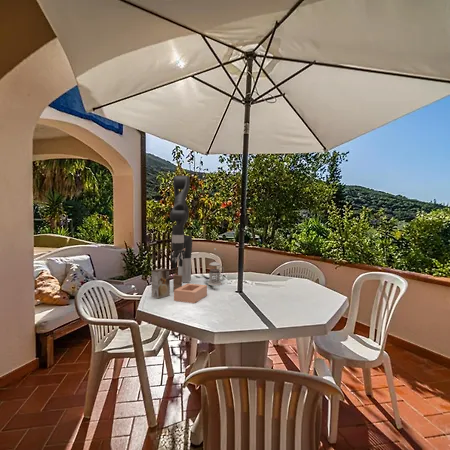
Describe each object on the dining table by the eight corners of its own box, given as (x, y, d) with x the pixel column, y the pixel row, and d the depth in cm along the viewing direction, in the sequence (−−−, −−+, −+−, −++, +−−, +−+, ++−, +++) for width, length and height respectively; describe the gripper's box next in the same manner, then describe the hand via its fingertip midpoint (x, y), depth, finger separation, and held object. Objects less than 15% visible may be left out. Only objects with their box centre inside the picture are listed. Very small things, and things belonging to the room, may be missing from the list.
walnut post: (176, 290, 204) (176, 274, 203) (181, 290, 202) (182, 275, 202) (173, 291, 200) (173, 276, 199) (178, 292, 199) (179, 276, 198)
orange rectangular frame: (187, 292, 198) (187, 283, 197) (206, 295, 194) (207, 285, 193) (173, 300, 181) (173, 290, 180) (194, 303, 177) (194, 292, 176)
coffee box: (162, 293, 195) (163, 267, 194) (170, 295, 191) (170, 269, 190) (151, 296, 188) (151, 270, 187) (158, 298, 184) (158, 271, 183)
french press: (205, 282, 226) (206, 247, 224) (220, 281, 231) (221, 247, 229) (210, 285, 217) (211, 249, 216) (226, 284, 222) (226, 248, 220)
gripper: (177, 240, 208) (177, 265, 208) (167, 242, 194) (166, 268, 195) (188, 241, 205) (187, 266, 206) (178, 243, 192) (177, 269, 192)
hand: (177, 267), depth 200 cm, fingers open, 8 cm apart
